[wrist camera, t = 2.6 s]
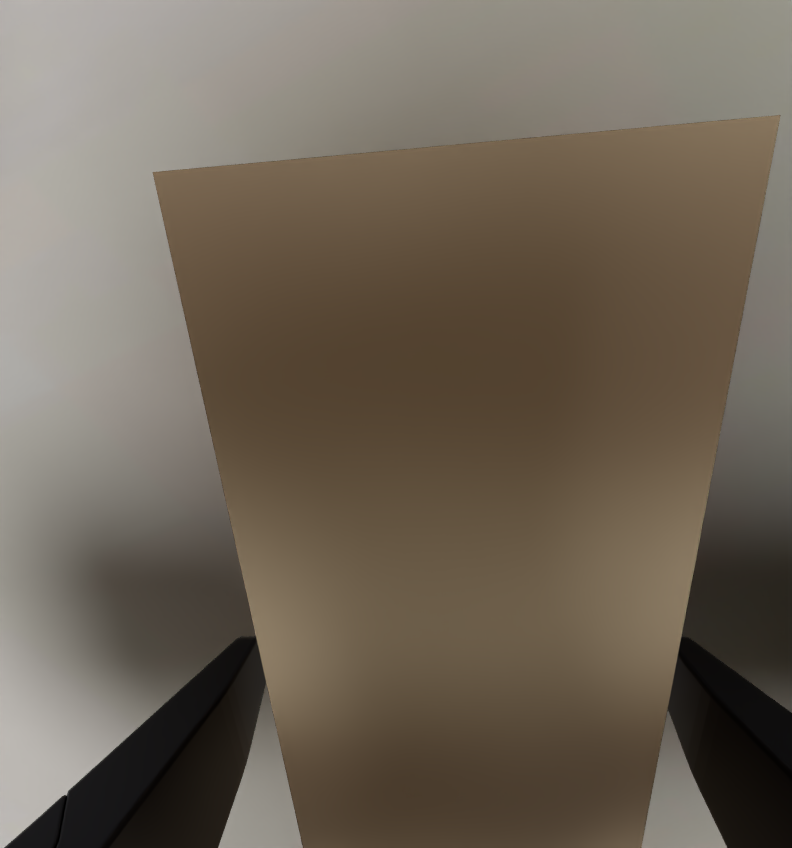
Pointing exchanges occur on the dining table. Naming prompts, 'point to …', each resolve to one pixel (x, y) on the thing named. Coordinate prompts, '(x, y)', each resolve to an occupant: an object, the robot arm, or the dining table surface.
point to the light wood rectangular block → (471, 460)
